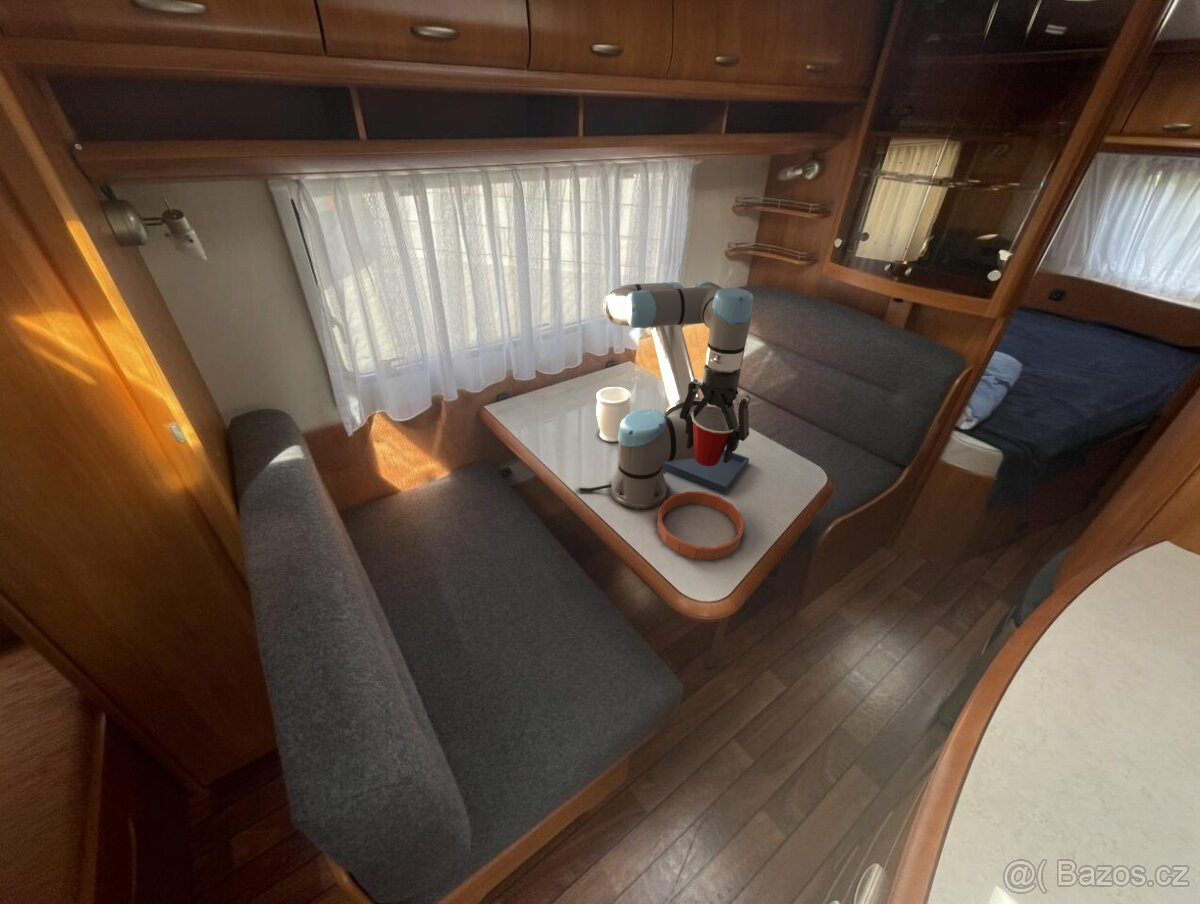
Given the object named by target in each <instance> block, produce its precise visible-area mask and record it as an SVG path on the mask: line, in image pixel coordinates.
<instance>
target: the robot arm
mask: <svg viewBox="0 0 1200 904" xmlns="http://www.w3.org/2000/svg"><path fill="white" fill-rule="evenodd" d="M753 305H754V295H753V294H752V292H750V291H749V290H747V289H743V288H739V287H723V288H722V286H720V285H718V284H716V283H714V282H712V281H709V280H703V281H699V282H698V283H696V284H694V285H693V286H691V287H684V285H682V284H681V283H679V282H676V281H662V282H650V283H649V282H647V283H630V284H628V283H627V284H624V285H620V286H617V287H615V288H613V289H612V290H610V291H609V292H608V293H607V294H606V295H605V297H604V299H603V302H602V310H603V314H604V316H605V318H606V319H607V320H608V321H609V322H611V323H612V324H615V325H618V326H624V327H630V328H634V329H645V333H646V334H647V335H648V336H649V337H652V340H653V341H652V342H653V346H654V350H655V353H656V359H657V362H658V366H659V367H658V368H659V371H660V376H661V381H662V384H663V388H664V389H663V390H664V393H665V398H666V402H667V408H666V410H665V411H664V414H663V413H662V412H661V411H659V410H656V409H654V410H652V409H651V408H647V409H646V408H645V409H644V408H643V409H637V410H634V411H632V412H630V414H628V415H627V416H625V418H624V419H623V420H622V421H621V423H620V427H619V434H618V441H617V442H618V447H617V448H618V450H617V452H618V453H617V454H618V455H617V468H616V470H615V472H614V475H613V477H612V480H611V483H610V484H605V485H599V486H594V487H579V489H578V491H579V492H595V491H599V490H604V489H610V494H611V497H613V499H614V500H615V502H617V503H618V504H620V505H621V506H624V507H627V508H630V509H637V510H644V509H645V510H646V509H651V508H653V507H656V506H658V505H659V504H661V503H663V502H664V501H665V498H666V495H667V488H668V487H667V482H666V478H665V475H666V472H667V471H666V470H664V469H662V462H667V461H676V460H685V459H694V458H695V455H694V437H693V421H692V417H691V413H692V412H694V418H695V417H696V416H697V415H698V414H699V413H700V412H701V411H702V410H703V408H704V407H705V406H715V407H719V408H721V410H722V413H724V415H725V419H726V422H727V425H728V429H729V430H732V429H733V430H734V429H735V428H737V427H738V428H737V429H735V430H734V431H733V432H731V433H730V435H731V436H730V437H729V438H728V440H727V445H726V447H725V450H726V451H725V456H724V463H727V462H728V461H729V460H730V459H731V458H732V452H733V453H735V451H736V450H737V449H738V447H739V442H740V441H741V442H744V441H745V440H747V438H748V437H749V436H750V419H749V415H750V414H749V405H750V402H751V396H750V395H745V396H744V395H742V394H740V393H739V391H738V387H739V383H740V382H739V381H740V377H741V372H742V370H741V368H742V366H743V361H744V355H745V348H746V346H747V345H746V344H747V340H748V334H749V331H750V326H751V321H752V320H751V319H752V318H753V307H754V306H753ZM700 324H701V325H702V324H704V325H705V327H707V328H708V329H709V333H708V340H707V347H706V354H705V361H704V362H705V365H704V368H703V375H702V381H698V379H696V378H695V373H694V369H693V366H692V363H691V358H690V354H689V350H688V347H687V343H686V339H685V335H684V331H683V328H684V326H685V325H686V326H687V325H700ZM699 391H701V394H702V395H703V397H702V399H701V398H700V393H699ZM734 401H736V405H737V407H738V408H737V409H738V410H737V413H738V417H737V415H736V412H735V405H734ZM693 410H694V411H693ZM736 417H737V418H738V421H739V425H738V422H737V418H736Z"/></svg>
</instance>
